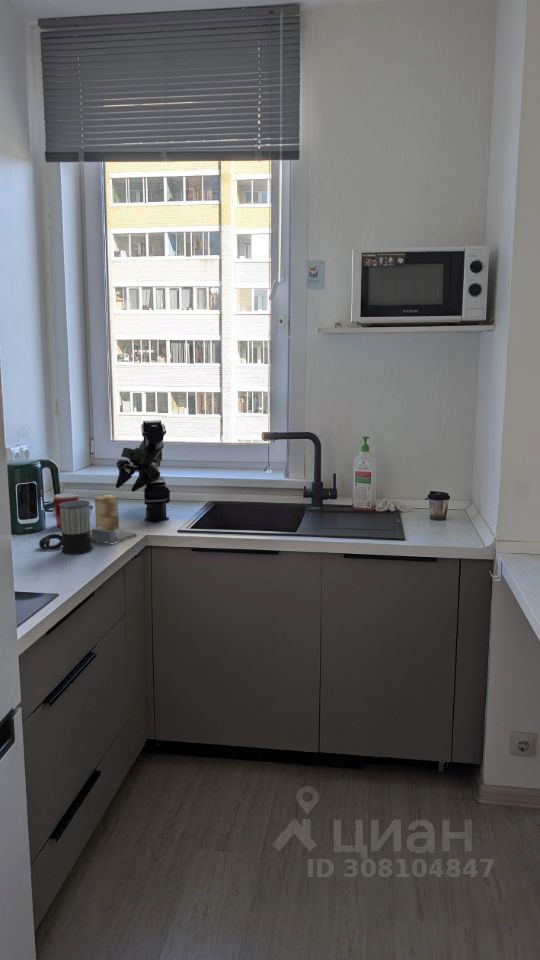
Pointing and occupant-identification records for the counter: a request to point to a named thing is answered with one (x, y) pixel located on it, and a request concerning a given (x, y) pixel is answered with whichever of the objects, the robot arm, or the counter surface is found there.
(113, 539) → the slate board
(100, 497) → the oak block
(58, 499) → the canned food
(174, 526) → the counter surface
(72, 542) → the milk frother
